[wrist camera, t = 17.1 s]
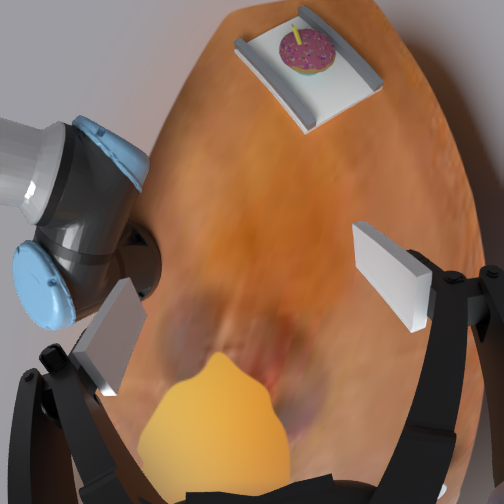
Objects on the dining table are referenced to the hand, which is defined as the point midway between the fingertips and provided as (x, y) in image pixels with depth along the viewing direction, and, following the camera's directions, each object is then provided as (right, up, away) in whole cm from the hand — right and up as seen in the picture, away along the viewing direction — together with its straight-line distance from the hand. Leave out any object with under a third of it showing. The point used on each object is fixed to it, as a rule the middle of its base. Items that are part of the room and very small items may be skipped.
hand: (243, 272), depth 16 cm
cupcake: (+9, +32, +23) cm, 40 cm away
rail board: (+10, +32, +24) cm, 41 cm away
